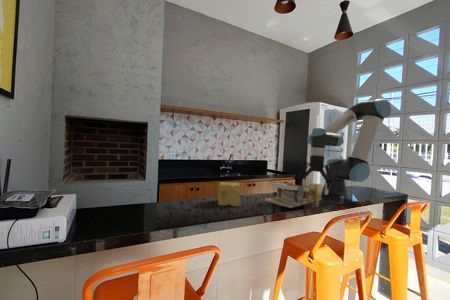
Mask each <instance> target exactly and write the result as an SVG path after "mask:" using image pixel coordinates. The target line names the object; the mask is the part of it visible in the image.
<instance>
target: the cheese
mask: <svg viewBox="0 0 450 300" xmlns="http://www.w3.org/2000/svg"><path fill="white" fill-rule="evenodd" d="M217 192H218V195H217V197H218V199H217V204H218V206H231V207H240V203H241V201H240V200H241V199H240V196H241V195H240V193H241V191H240V182H235V181H234V182H227V181H226V182H225V181H224V182H223V181H220V182H219V184H218V191H217Z"/></svg>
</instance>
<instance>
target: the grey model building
mask: <svg viewBox="0 0 450 300" xmlns="http://www.w3.org/2000/svg"><path fill="white" fill-rule="evenodd" d="M268 185H269V186H270V187H274V188H276V189H277V188H282V189H287V190H294V191H298V189H299V187H304V192H303V197H304V196H305V192H308V191H309V190H310V187H309V185H308V186H307V185H306V186H302V185H298V184H294V183H292V182H291V183H290V182H283V181H273V180H269V184H268Z"/></svg>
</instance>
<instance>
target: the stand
mask: <svg viewBox="0 0 450 300" xmlns="http://www.w3.org/2000/svg"><path fill="white" fill-rule="evenodd" d="M303 192H304V187H299V189H298V191H294V190H287V189H282V188H277V187H276V196H274V197H268V198H265V199H264V202H266V203H272V204H275V205H278V206H282V207H285V208H290V209H291V208H292V209H293V208H297V207H300V206H304V205H307V204H311V203H314V201H313V200H310V199H308V198H304V196H303ZM304 193H305V192H304Z"/></svg>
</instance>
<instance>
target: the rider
mask: <svg viewBox="0 0 450 300" xmlns="http://www.w3.org/2000/svg"><path fill="white" fill-rule="evenodd" d="M308 186H309V187H310V190H309V191H307V193H308V195H307V199H310V200H313V202H319V201H322V195H323V192H322V189H323V184H322V183H315V182H311V183H308Z"/></svg>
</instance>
